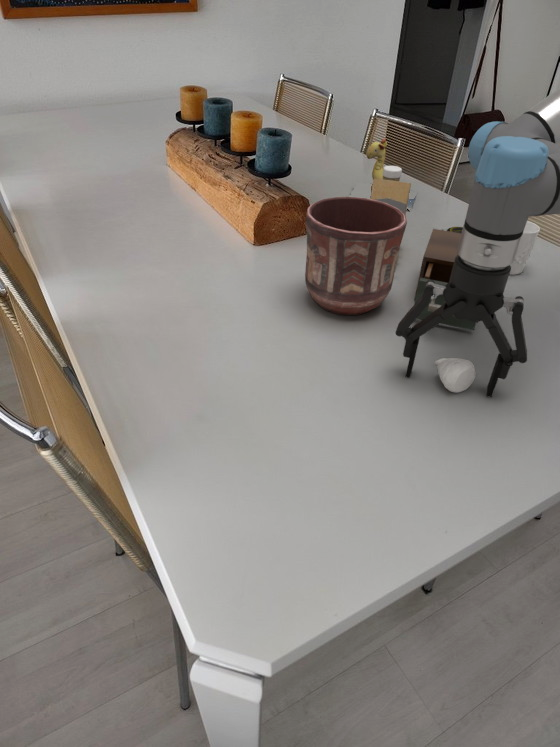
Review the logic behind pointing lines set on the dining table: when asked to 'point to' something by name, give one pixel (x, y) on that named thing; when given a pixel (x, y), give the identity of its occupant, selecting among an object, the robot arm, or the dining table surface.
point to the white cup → (524, 247)
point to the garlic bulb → (456, 373)
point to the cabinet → (440, 250)
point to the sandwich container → (391, 194)
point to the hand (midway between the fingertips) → (448, 382)
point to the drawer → (441, 277)
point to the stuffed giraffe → (380, 162)
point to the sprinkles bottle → (392, 173)
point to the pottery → (352, 252)
